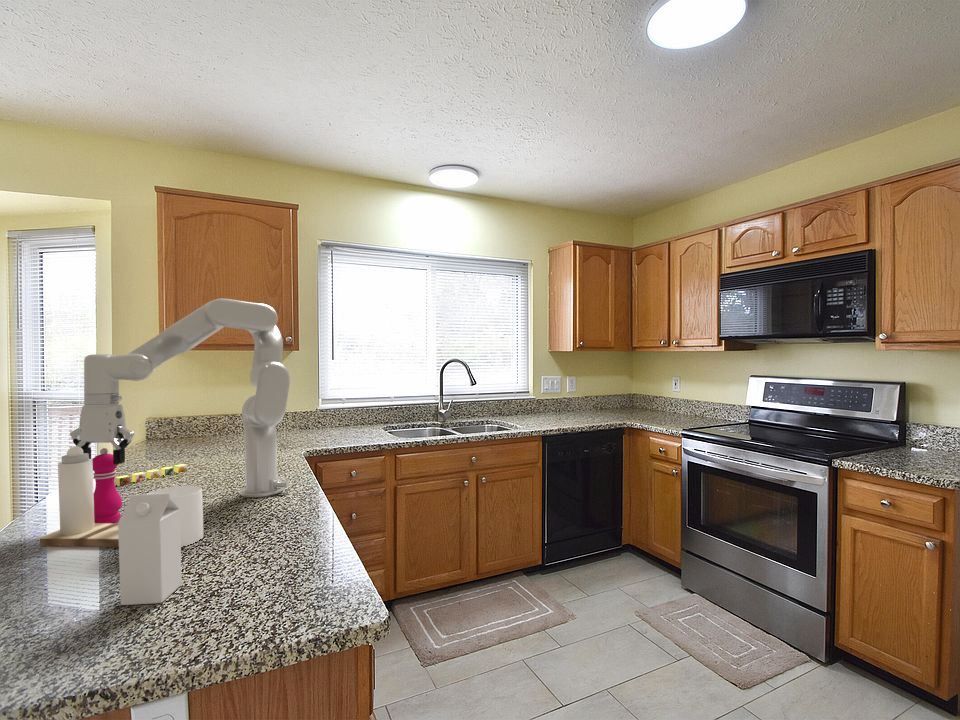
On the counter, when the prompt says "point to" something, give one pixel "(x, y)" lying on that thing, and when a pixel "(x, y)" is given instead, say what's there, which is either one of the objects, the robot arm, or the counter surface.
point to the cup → (187, 511)
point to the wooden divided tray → (85, 537)
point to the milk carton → (149, 549)
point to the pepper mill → (105, 489)
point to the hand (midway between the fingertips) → (102, 463)
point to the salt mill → (76, 492)
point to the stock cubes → (149, 474)
